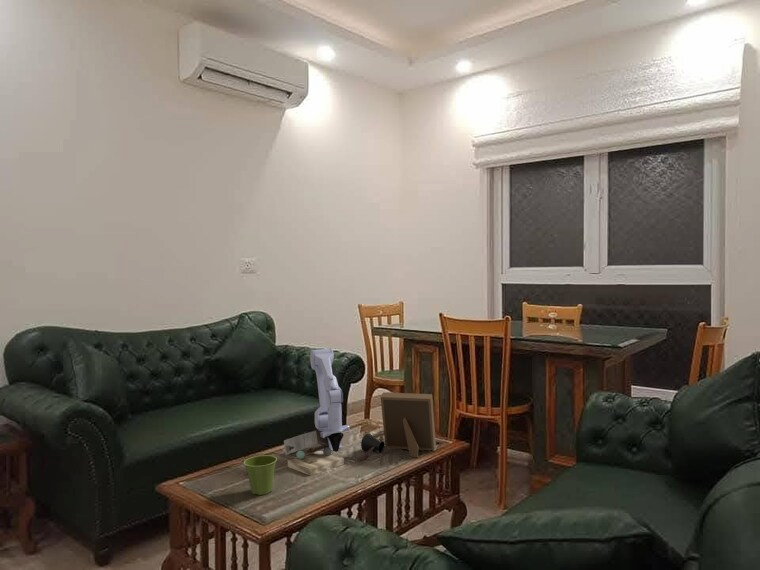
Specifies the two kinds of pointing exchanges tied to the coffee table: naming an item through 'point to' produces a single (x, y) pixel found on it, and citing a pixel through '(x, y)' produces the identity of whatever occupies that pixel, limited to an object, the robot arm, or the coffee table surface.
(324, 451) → the ball
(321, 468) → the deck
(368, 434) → the coffee pot
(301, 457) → the teal ball
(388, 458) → the coffee table surface
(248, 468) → the plant pot
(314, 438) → the coffee box
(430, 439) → the photo frame
